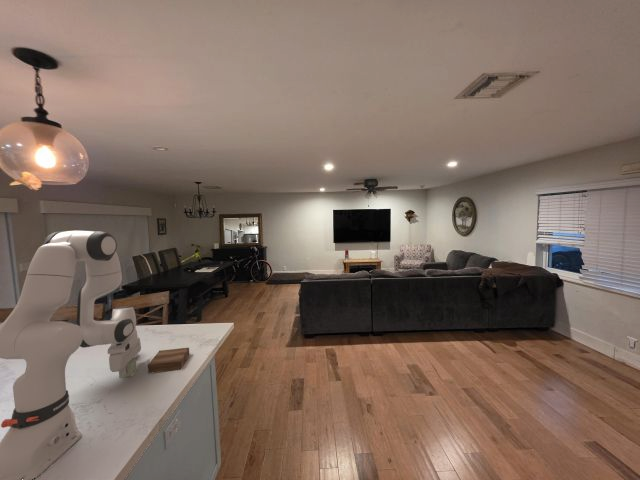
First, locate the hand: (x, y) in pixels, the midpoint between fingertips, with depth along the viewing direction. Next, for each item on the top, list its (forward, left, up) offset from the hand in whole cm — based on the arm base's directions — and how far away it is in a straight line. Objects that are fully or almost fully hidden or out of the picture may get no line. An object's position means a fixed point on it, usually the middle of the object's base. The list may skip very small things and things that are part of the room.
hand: (128, 370), depth 122 cm
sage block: (0, 0, -2) cm, 2 cm away
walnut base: (+5, -16, -2) cm, 17 cm away
